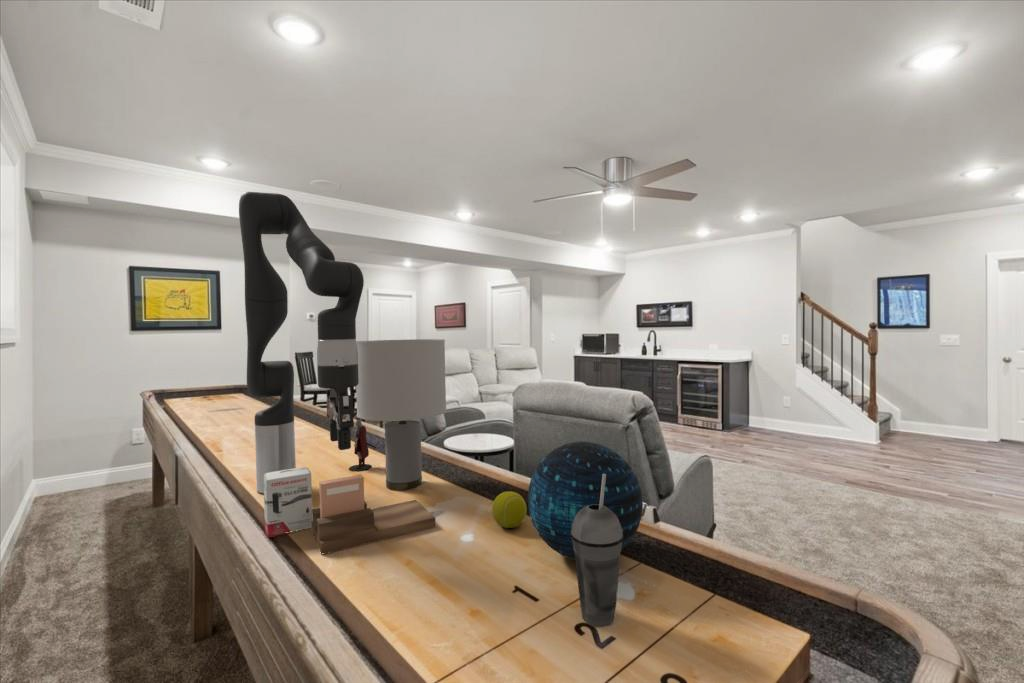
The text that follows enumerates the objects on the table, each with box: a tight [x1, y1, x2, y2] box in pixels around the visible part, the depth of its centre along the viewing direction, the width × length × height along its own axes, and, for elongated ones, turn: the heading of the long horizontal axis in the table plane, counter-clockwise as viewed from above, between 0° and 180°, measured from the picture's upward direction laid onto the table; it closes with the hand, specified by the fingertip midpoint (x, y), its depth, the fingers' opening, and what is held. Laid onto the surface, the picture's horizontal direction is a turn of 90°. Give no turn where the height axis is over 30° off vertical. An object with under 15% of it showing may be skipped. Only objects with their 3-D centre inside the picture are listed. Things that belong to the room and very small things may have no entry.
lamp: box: [355, 338, 447, 491], centre depth 124 cm, size 23×23×38 cm
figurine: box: [348, 417, 378, 472], centre depth 140 cm, size 7×7×15 cm
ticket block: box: [311, 499, 436, 555], centre depth 96 cm, size 12×22×5 cm, turn 121°
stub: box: [318, 474, 365, 518], centre depth 93 cm, size 2×8×9 cm, turn 120°
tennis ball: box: [491, 491, 528, 529], centre depth 97 cm, size 7×7×7 cm
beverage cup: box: [570, 474, 624, 628], centre depth 65 cm, size 7×7×20 cm
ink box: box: [263, 466, 313, 539], centre depth 97 cm, size 8×5×12 cm, turn 123°
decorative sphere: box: [527, 441, 644, 561], centre depth 83 cm, size 20×20×20 cm
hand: (340, 444), depth 93 cm, fingers open, 8 cm apart
